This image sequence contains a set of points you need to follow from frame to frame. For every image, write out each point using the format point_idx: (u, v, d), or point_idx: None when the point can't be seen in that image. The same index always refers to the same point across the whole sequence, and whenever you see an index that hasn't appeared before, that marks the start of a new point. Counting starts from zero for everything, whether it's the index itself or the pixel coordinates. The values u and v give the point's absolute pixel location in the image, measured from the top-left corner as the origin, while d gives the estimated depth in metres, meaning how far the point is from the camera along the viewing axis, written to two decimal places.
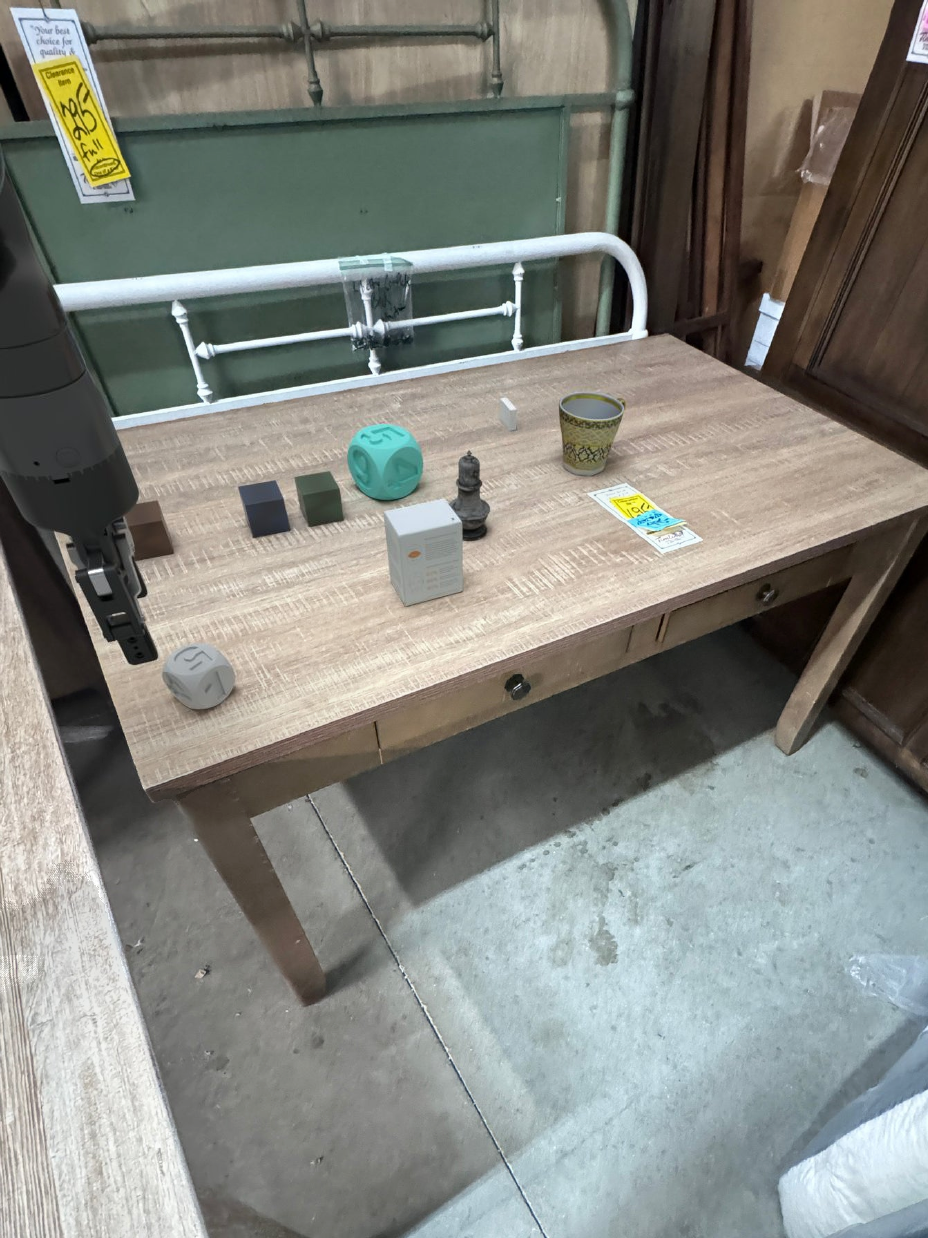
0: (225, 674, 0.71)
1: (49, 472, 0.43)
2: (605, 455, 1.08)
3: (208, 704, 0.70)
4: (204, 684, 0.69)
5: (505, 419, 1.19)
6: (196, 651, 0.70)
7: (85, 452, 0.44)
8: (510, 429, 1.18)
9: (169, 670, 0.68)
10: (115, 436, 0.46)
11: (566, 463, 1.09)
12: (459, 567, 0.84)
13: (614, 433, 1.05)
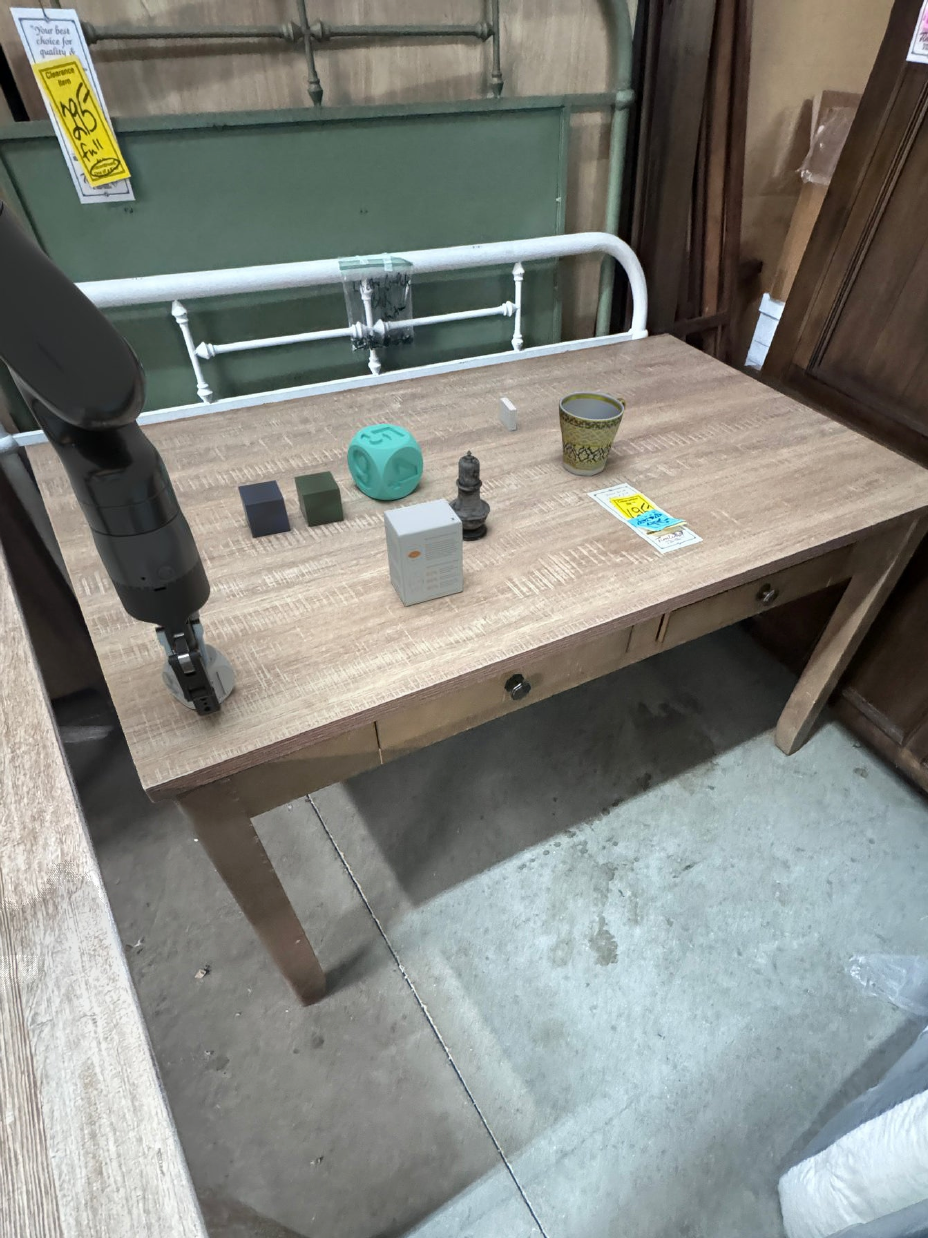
0: (225, 674, 0.71)
1: (151, 583, 0.58)
2: (605, 455, 1.08)
3: None
4: None
5: (505, 419, 1.19)
6: None
7: (177, 567, 0.58)
8: (510, 429, 1.18)
9: (169, 670, 0.68)
10: (196, 551, 0.61)
11: (566, 463, 1.09)
12: (459, 567, 0.84)
13: (614, 433, 1.05)
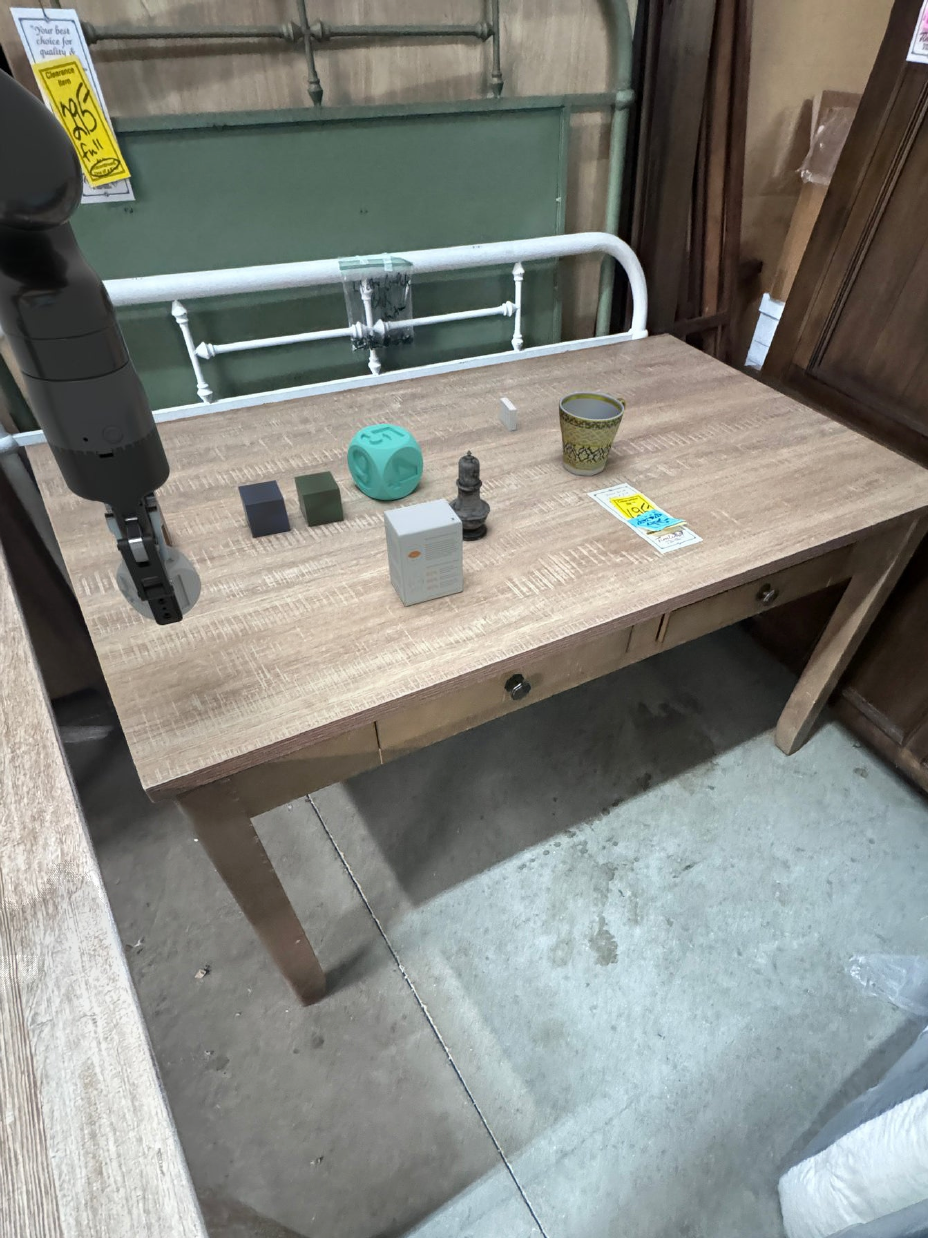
0: (189, 580, 0.62)
1: (96, 447, 0.49)
2: (605, 455, 1.08)
3: None
4: None
5: (505, 419, 1.19)
6: None
7: (127, 430, 0.50)
8: (510, 429, 1.18)
9: (124, 570, 0.59)
10: (152, 418, 0.52)
11: (566, 463, 1.09)
12: (459, 567, 0.84)
13: (614, 433, 1.05)
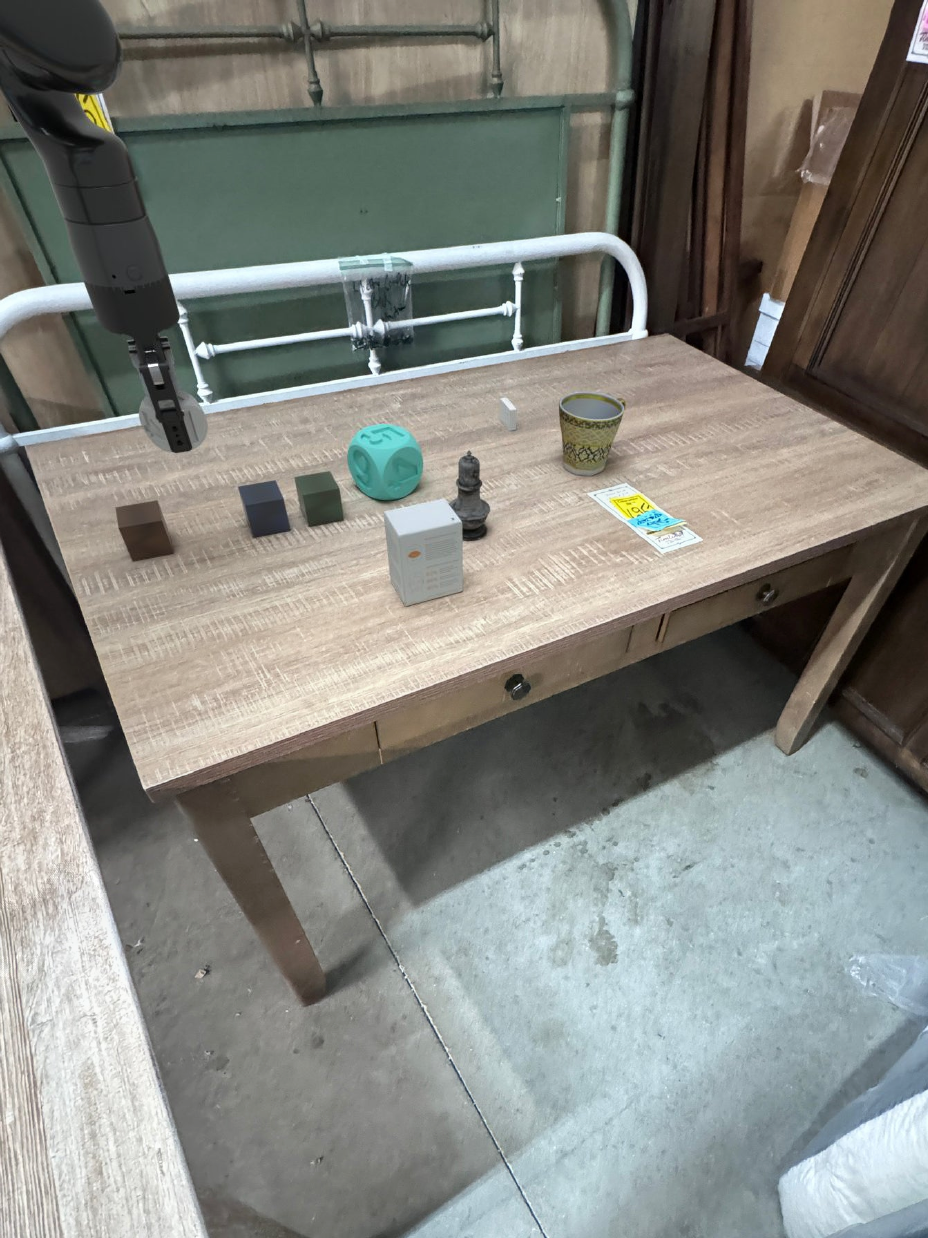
0: (197, 418, 0.76)
1: (122, 284, 0.63)
2: (605, 455, 1.08)
3: None
4: None
5: (505, 419, 1.19)
6: None
7: (146, 271, 0.64)
8: (510, 429, 1.18)
9: (145, 405, 0.73)
10: (165, 266, 0.66)
11: (566, 463, 1.09)
12: (459, 567, 0.84)
13: (614, 433, 1.05)
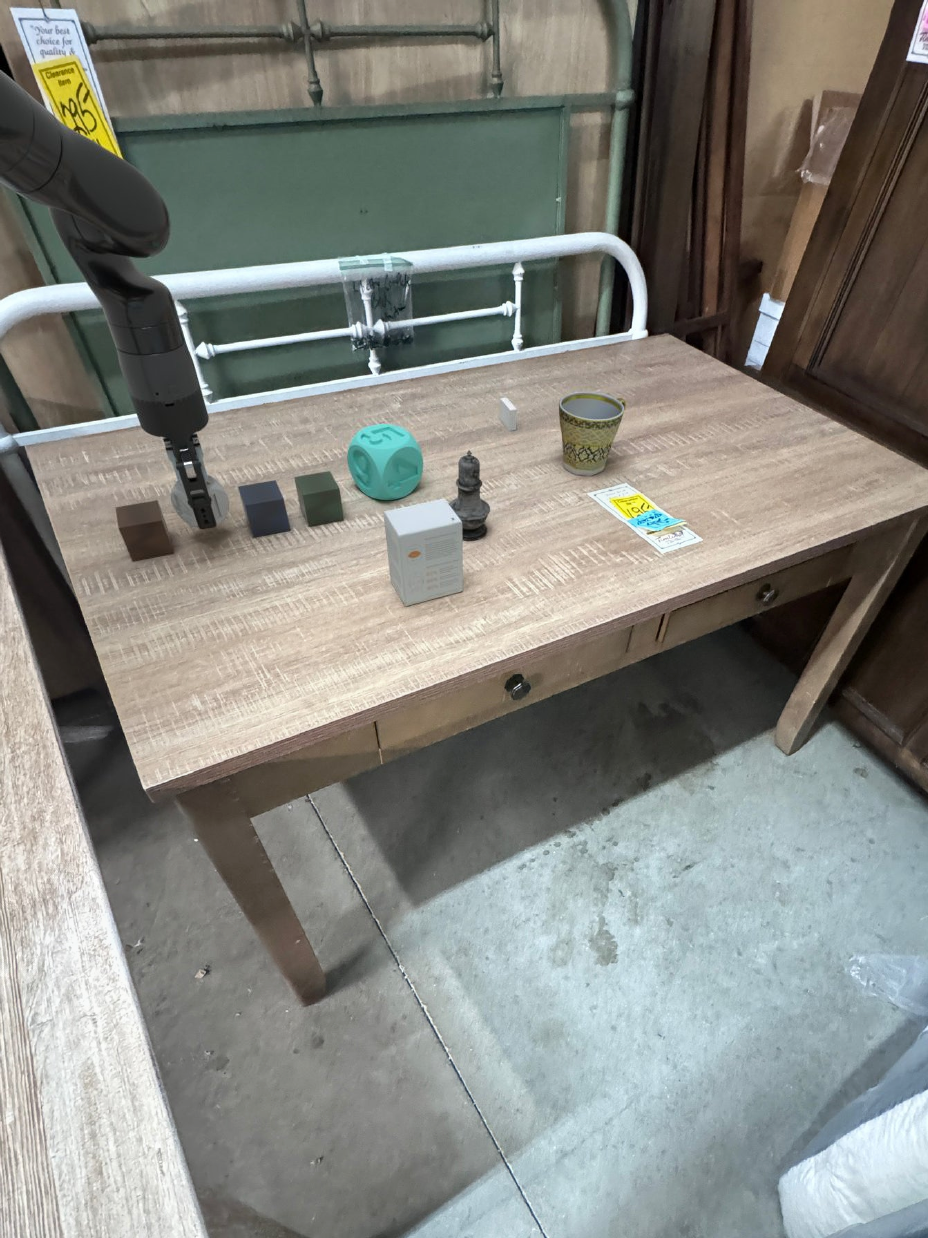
0: (221, 498, 0.88)
1: (163, 399, 0.75)
2: (605, 455, 1.08)
3: None
4: None
5: (505, 419, 1.19)
6: None
7: (183, 388, 0.76)
8: (510, 429, 1.18)
9: (177, 490, 0.85)
10: (198, 380, 0.78)
11: (566, 463, 1.09)
12: (459, 567, 0.84)
13: (614, 433, 1.05)
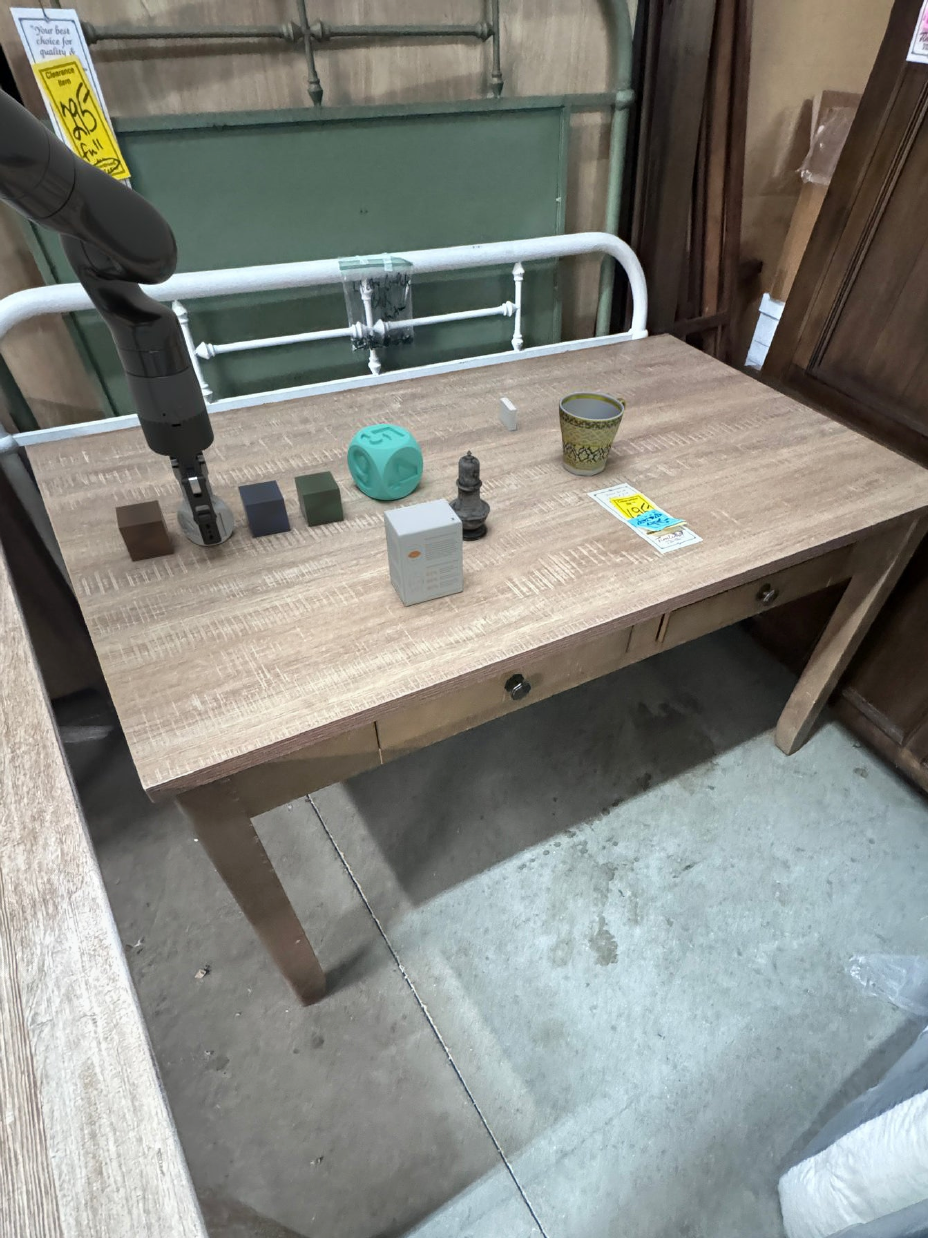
0: (226, 517, 0.90)
1: (170, 419, 0.77)
2: (605, 455, 1.08)
3: None
4: None
5: (505, 419, 1.19)
6: None
7: (189, 409, 0.78)
8: (510, 429, 1.18)
9: (183, 509, 0.87)
10: (203, 401, 0.80)
11: (566, 463, 1.09)
12: (459, 567, 0.84)
13: (614, 433, 1.05)
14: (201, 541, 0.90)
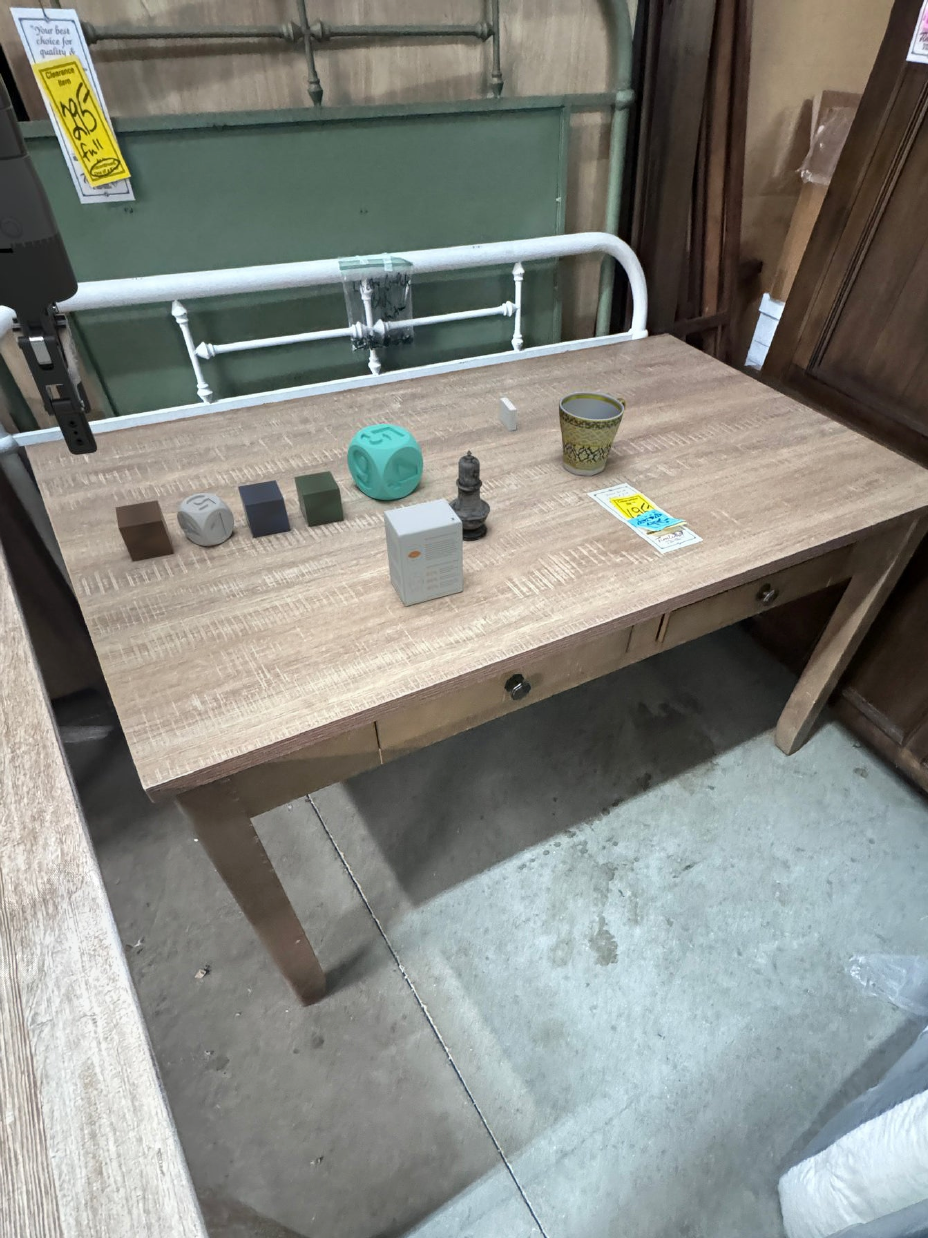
0: (226, 517, 0.90)
1: None
2: (605, 455, 1.08)
3: (213, 540, 0.90)
4: (210, 521, 0.88)
5: (505, 419, 1.19)
6: (203, 498, 0.89)
7: (26, 226, 0.51)
8: (510, 429, 1.18)
9: (183, 509, 0.87)
10: (55, 223, 0.53)
11: (566, 463, 1.09)
12: (459, 567, 0.84)
13: (614, 433, 1.05)
14: (201, 541, 0.90)
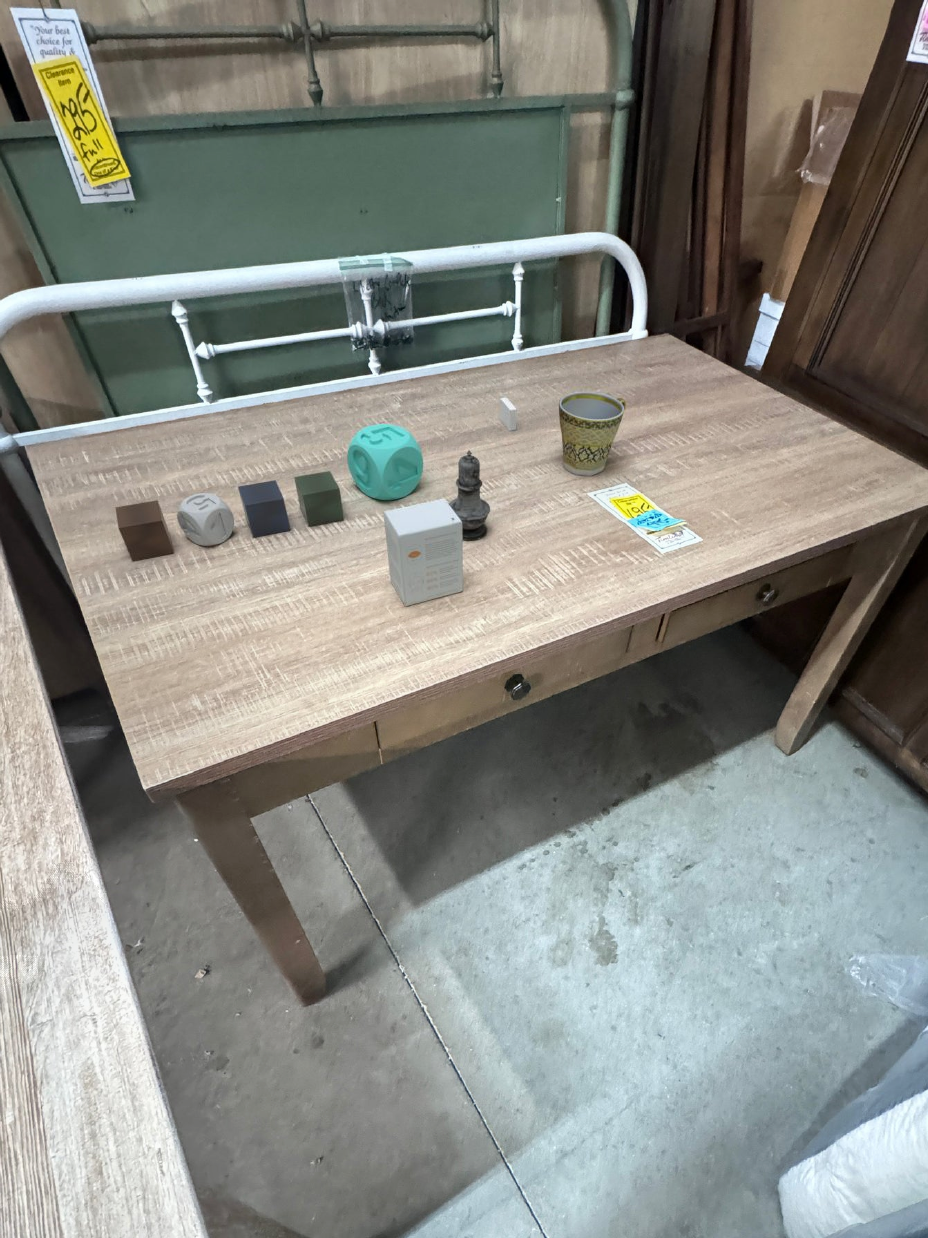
0: (226, 517, 0.90)
1: None
2: (605, 455, 1.08)
3: (213, 540, 0.90)
4: (210, 521, 0.88)
5: (505, 419, 1.19)
6: (203, 498, 0.89)
7: None
8: (510, 429, 1.18)
9: (183, 509, 0.87)
10: None
11: (566, 463, 1.09)
12: (459, 567, 0.84)
13: (614, 433, 1.05)
14: (201, 541, 0.90)
